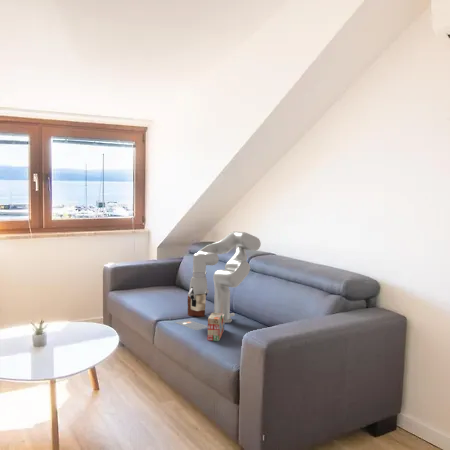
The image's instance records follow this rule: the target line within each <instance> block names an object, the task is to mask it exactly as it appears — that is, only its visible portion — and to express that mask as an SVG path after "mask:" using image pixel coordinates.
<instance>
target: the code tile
mask: <svg viewBox="0 0 450 450" xmlns="http://www.w3.org/2000/svg"><path fill="white" fill-rule="evenodd" d="M174 324H177V325H181V326H183V327H184V328H189V329H191V330H193V331H200V330H204V329H208V325H206V324H203V323H200V322H198V321H197V322H196V321H193V320H192V319H185V320H180V321H176V322H174Z"/></svg>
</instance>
